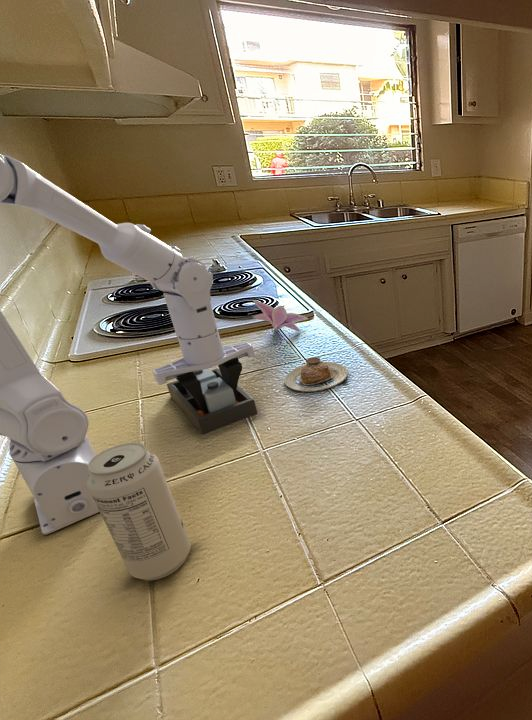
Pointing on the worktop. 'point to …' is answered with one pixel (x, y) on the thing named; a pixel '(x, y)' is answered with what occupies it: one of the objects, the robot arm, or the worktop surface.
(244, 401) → the tray
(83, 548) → the worktop surface
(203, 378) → the grey block with knob
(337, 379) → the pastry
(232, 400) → the grey knobbed block
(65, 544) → the worktop surface
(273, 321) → the lily
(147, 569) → the energy drink can
